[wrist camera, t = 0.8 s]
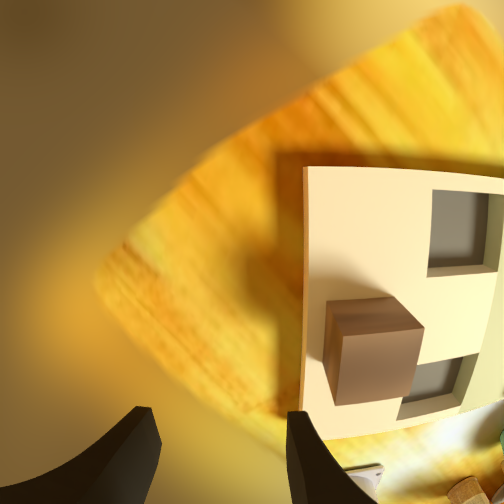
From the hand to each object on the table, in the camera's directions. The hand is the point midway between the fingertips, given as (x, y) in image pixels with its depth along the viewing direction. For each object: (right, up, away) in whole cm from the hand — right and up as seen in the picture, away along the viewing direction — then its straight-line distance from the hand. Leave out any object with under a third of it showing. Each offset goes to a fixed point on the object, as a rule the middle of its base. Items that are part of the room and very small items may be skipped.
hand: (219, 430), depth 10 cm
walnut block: (+7, +2, +7) cm, 10 cm away
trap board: (+14, +3, +9) cm, 17 cm away
